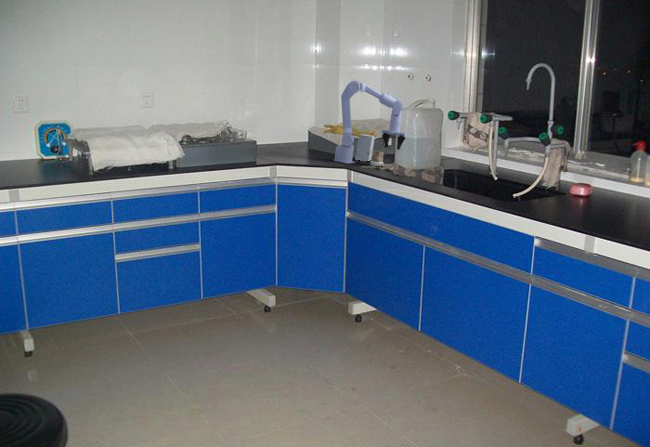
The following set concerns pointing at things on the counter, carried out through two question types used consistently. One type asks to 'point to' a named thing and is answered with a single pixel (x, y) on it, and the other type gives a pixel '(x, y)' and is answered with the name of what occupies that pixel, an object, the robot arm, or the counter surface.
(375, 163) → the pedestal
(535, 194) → the counter surface
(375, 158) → the beech block
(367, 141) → the skincare box
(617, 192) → the counter surface
